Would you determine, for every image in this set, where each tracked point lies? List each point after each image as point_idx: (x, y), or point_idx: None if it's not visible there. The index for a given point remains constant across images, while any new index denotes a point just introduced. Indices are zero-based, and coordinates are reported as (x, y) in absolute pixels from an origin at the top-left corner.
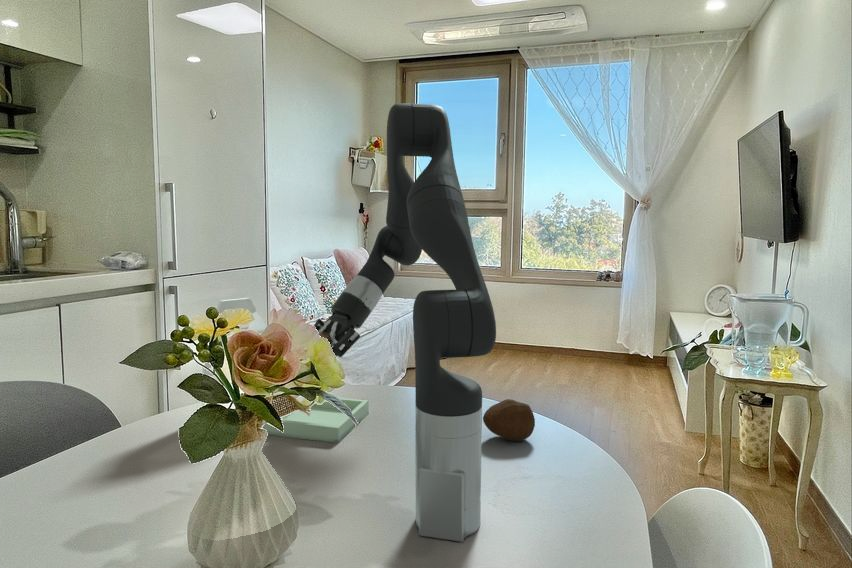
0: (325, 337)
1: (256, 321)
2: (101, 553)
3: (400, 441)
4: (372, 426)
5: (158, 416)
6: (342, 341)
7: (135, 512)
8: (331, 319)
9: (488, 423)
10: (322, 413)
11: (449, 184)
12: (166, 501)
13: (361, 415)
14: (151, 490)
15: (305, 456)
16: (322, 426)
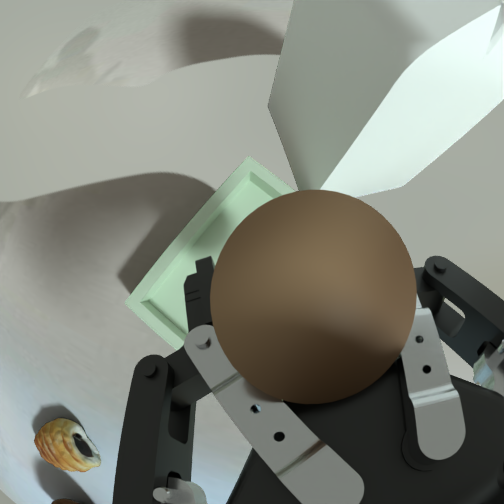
0: (223, 351)
1: (451, 1)
2: (57, 52)
3: (107, 406)
4: None
5: None
6: (122, 430)
7: (97, 50)
8: (478, 451)
9: (59, 501)
10: None
11: None
12: (98, 66)
13: None
14: (133, 49)
15: (110, 226)
16: (148, 272)
